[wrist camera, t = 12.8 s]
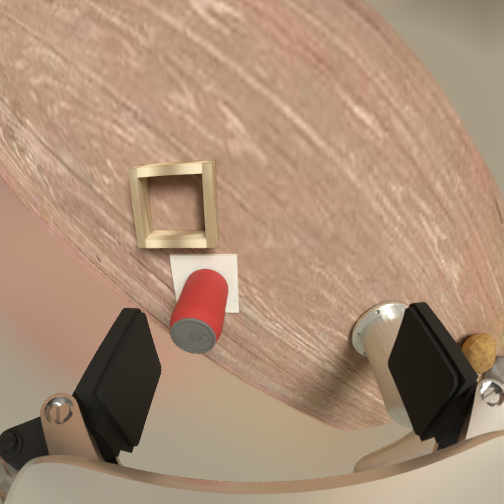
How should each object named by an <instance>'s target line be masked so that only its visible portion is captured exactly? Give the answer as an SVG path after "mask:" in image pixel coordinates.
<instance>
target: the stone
mask: <svg viewBox="0 0 504 504" xmlns="http://www.w3.org/2000/svg"><path fill="white" fill-rule="evenodd" d="M485 379H494V380H496V381H498V382H500V383H501V384H502V385H503V384H504V356H498V357H496V358H495V362H494V364H493V366H492V367H491V368H490V369H489V370H488V371H487V372H485Z"/></svg>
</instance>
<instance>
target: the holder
mask: <svg viewBox="0 0 504 504" xmlns="http://www.w3.org/2000/svg"><path fill="white" fill-rule="evenodd" d="M128 171H129V181H130V191H131V199H132V208H133V215H134V222H135V229H136V236H137V242H138V248H216V246H217V243H218V240H219V228H218V207H217V183H216V160H210V161H189V162H174V163H160V164H149V165H139V166H136V167H133V168H131V169H128ZM201 173H202V180H203V200H204V216H205V230H181V231H153V225H152V217H151V209H150V200H149V190H148V179H147V177H150V176H164V175H180V174H201Z"/></svg>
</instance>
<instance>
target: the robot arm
mask: <svg viewBox="0 0 504 504" xmlns="http://www.w3.org/2000/svg"><path fill="white" fill-rule="evenodd" d="M351 339H352V343H353V346H354V348H355V350H356V351H357V352H358V353H359V354H361V355H363V356H367V358H368V361H369V364H370V366H371V369H372V371H373V374H374V377H375V379H376V382H377V385H378V387H379V390H380V393H381V395H382V398H383V401H384V404H385V407H386V409H387V412H388V414H389V416H390V417H391V418H392V419H393V420H394V421H395V422H396V423H398V424H400V425H402V426H405V427H407V428H410V429H413V431H411V432H410V433H409V434H407V435H405V436H404V437H403V438H401V439H399V440H397V441H395V442H393V443H391V444H389V445H387V446H385V447H383V448H381V449H379V450H377V451H375V452H372V453H370V454H368V455H366V456H365V457H363V458H361V459H360V460H359V461H358V462H357V463H356V464H355V466H354V468H353V472H352V474H346V475H340V476H334V477H326V478H318V479H309V480H299V481H281V482H231V481H214V480H202V479H193V478H184V477H178V476H171V475H164V474H159V473H153V472H147V471H143V470H137V469H133V468H129V467H124V466H122V464H121V462H120V460H119V458H118V455H119V453H120V450H122V451H126V452H131V453H132V451H133V447H134V446H137V445H138V444H139V441H140V438H141V435H142V431H143V428H144V425H145V421H146V418H147V415H148V412H149V409H150V405H151V402H152V399H153V396H154V393H155V390H156V387H157V384H158V380H159V378H160V375H161V364H160V361H159V358H158V355H157V352H156V349H155V345H154V342H153V339H152V335H151V332H150V328H149V325H148V321H147V317H146V315H145V313H142V312H141V310H140V309H137V308H124V309H123V310H122V311H121V313H120V314H119V316H118V317H117V319H116V321H115V322H114V324H113V325H112V327H111V329H110V331H109V332H108V334H107V336H106V337H105V339H104V340H103V342H102V344H101V345H100V347H99V348H98V350H97V352H96V353H95V355H94V357H93V359H92V360H91V362H90V364H89V366H88V367H87V369H86V371H85V373H84V375H83V377H82V378H81V380H80V382H79V384H78V385H77V387H76V389H75V391H74V393H73V395H72V396H71V395H69V394H66V393H58V394H54V395H52V396H50V397H49V398H48V399H46V400H45V402H44V403H43V405H42V407H41V410H40V417H37V418H35V419H33V420H30V421H28V422H25V423H23V424H20V425H18V426H15V427H12V428H10V429H8V430H6V431H4V432H3V433H2V434H1V435H0V504H504V386H503V385H502V384H501V383H500V382H498V381H496V380H494V379H484V380H482V381H480V382H479V383H477V381H476V380H477V378H478V375H477V373H476V372H475V370H474V369H473V367H472V366H471V364H470V363H469V361H468V360H467V358H466V357H465V355H464V354H463V352H462V351H461V349H460V348H459V346H458V345H457V344H456V342H455V341H454V339H453V338H452V337H451V335H450V334H449V332H448V331H447V330H446V328H445V327H444V326H443V324H442V323H441V321H440V320H439V319H438V317H437V316H436V315H435V314H434V312H433V311H432V310H431V308H430V307H429V306H428V304H427V303H425V302H420V303H412V304H410V306H407V305H406V304H405V303H402V302H398V301H388V302H384V303H381V304H378V305H376V306H374V307H373V308H371V309H369V310H368V311H367V312H365V313H364V314H363V315H362V316H361V317H360V318H359V320H358V321H357V322H356V324H355V326H354V328H353V331H352V337H351Z"/></svg>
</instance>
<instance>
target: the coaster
mask: <svg viewBox="0 0 504 504" xmlns="http://www.w3.org/2000/svg"><path fill="white" fill-rule="evenodd" d="M170 262H171V269H172V276H173V282H174V289H175V295H176V301H178V299H179V296H180V294H181V292H182V289H183V287H184V285H185V282H186V280H187V278H188V277H189V275H190V274H191V273H193V272H194V271H196V270H200V269H211V270H214V271H216V272H218V273H220V274H221V275H222V276H223V277H224V278H225V279H226V282H227V284H228V290H229V292H228V298H227V304H226V310H225V313H239V294H238V266H237V254H170Z"/></svg>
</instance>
